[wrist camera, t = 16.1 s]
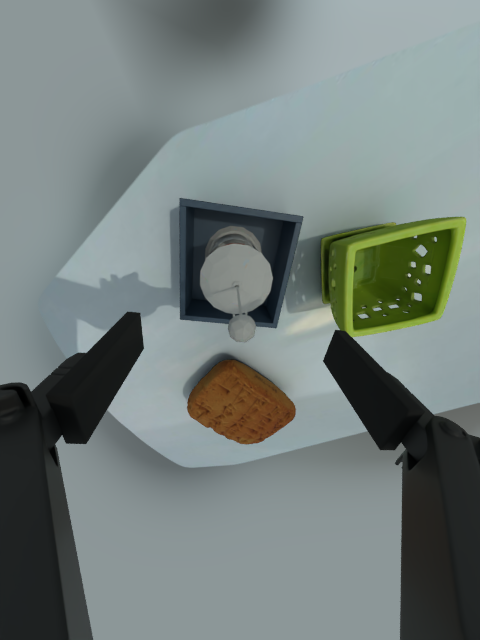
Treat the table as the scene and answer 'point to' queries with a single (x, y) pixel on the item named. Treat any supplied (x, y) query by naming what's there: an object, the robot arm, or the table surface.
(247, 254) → the french press
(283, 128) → the table surface
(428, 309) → the flower pot
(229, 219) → the tub
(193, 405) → the inscribed clay slab
